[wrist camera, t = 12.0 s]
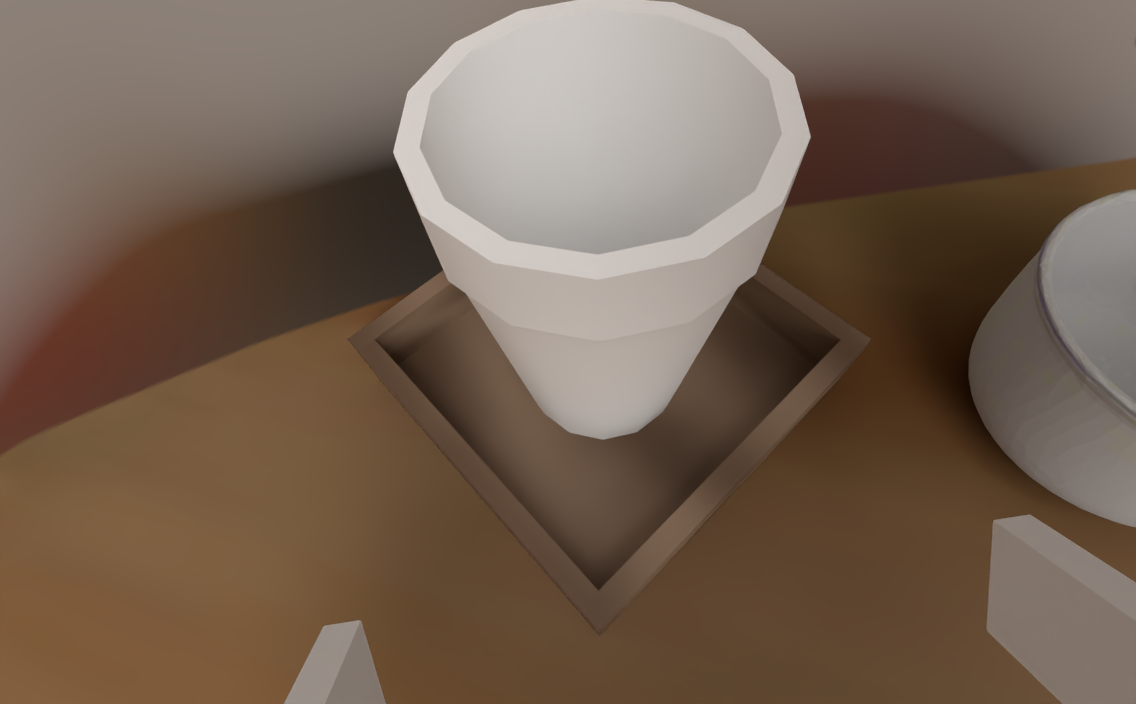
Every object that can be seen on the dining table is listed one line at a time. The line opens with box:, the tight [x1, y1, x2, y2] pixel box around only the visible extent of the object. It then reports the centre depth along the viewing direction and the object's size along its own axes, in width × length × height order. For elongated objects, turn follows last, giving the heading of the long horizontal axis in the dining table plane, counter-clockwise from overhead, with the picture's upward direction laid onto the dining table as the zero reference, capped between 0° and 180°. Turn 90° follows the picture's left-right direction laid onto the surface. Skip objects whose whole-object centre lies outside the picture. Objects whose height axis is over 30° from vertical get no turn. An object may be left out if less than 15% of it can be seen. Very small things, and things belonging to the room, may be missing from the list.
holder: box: [348, 263, 871, 636], centre depth 24 cm, size 15×15×4 cm
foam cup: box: [393, 0, 811, 440], centre depth 19 cm, size 10×9×13 cm
